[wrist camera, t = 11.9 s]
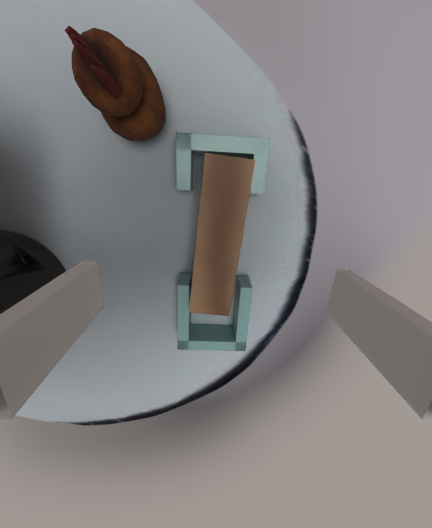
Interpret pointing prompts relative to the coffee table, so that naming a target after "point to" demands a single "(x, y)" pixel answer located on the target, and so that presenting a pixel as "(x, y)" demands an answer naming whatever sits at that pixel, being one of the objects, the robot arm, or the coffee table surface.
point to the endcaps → (237, 333)
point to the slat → (219, 232)
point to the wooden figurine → (117, 84)
